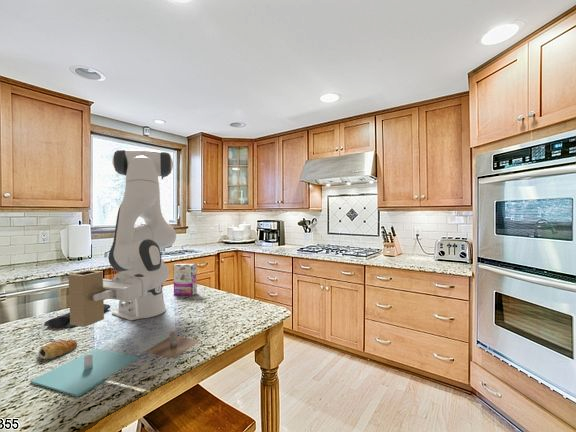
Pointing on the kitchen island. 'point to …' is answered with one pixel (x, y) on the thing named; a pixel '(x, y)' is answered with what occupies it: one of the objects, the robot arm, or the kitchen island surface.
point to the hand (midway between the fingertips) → (83, 296)
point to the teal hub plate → (84, 372)
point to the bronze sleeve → (85, 298)
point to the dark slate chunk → (64, 320)
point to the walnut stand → (172, 346)
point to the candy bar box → (185, 279)
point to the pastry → (56, 349)
